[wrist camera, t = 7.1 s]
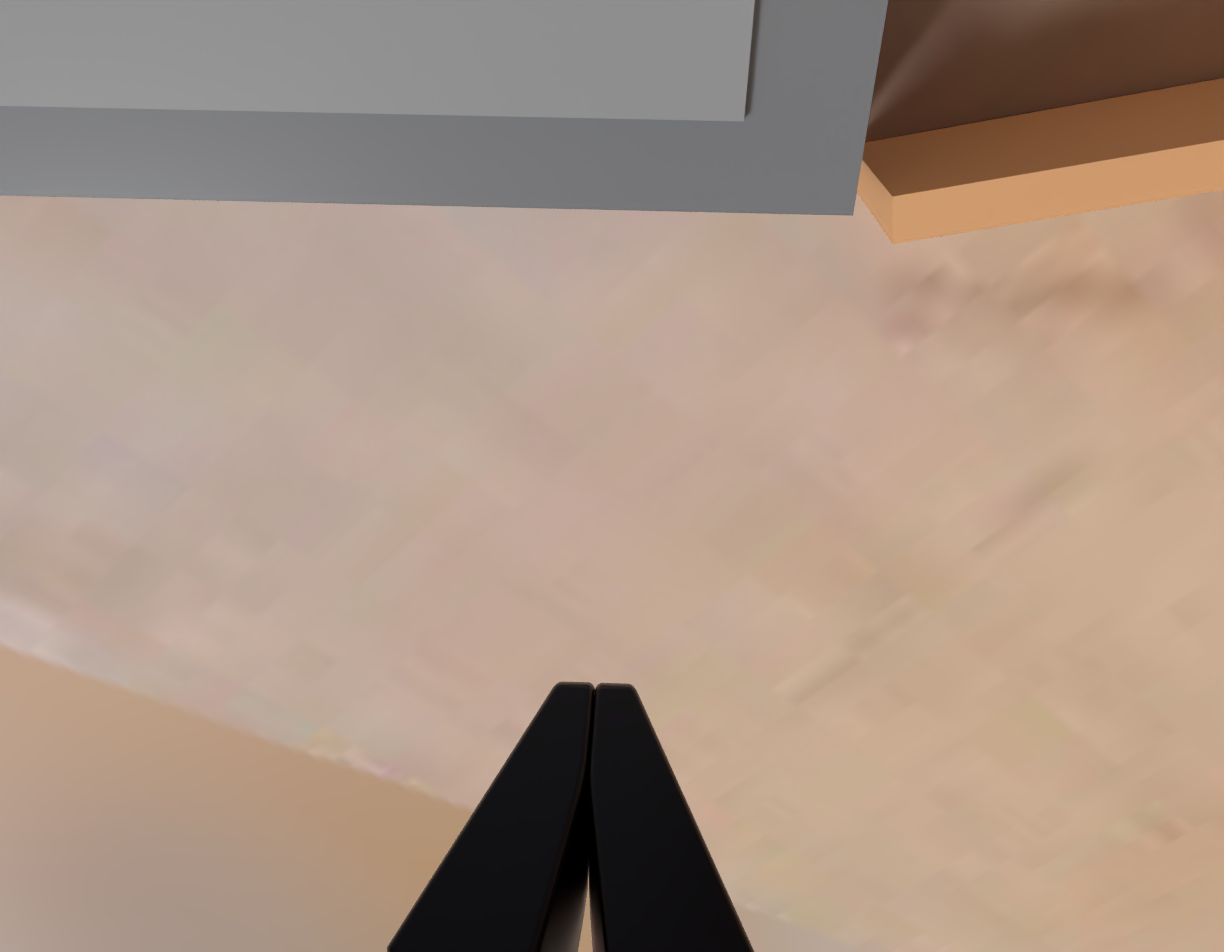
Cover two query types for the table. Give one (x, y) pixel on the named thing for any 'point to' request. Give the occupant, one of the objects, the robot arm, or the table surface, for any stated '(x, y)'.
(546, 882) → the robot arm
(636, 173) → the case
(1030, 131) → the case door
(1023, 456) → the table surface
